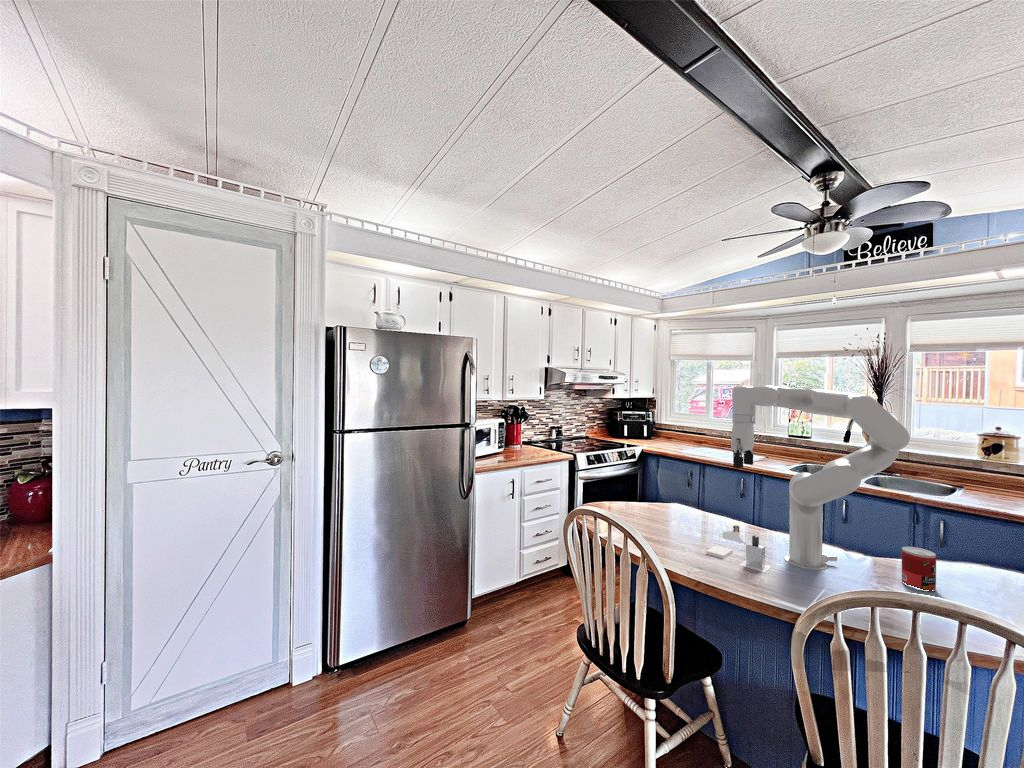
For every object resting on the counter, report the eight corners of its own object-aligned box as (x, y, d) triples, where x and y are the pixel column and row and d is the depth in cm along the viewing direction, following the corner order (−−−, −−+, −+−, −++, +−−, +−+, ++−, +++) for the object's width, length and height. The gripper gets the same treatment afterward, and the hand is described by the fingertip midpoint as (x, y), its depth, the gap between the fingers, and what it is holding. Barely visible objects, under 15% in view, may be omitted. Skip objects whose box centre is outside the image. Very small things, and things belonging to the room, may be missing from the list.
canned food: (927, 594, 132) (928, 557, 132) (895, 583, 139) (896, 548, 139) (941, 589, 135) (941, 553, 135) (909, 579, 142) (909, 544, 142)
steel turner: (748, 562, 153) (748, 533, 153) (764, 567, 149) (764, 537, 149) (746, 564, 151) (746, 535, 151) (762, 569, 147) (762, 539, 147)
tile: (715, 545, 166) (706, 550, 161) (732, 549, 162) (723, 555, 156) (715, 548, 166) (706, 554, 161) (732, 553, 161) (723, 559, 156)
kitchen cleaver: (719, 523, 197) (744, 525, 193) (719, 526, 197) (744, 528, 193) (716, 541, 175) (745, 544, 171) (716, 544, 175) (745, 547, 171)
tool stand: (746, 561, 155) (746, 559, 155) (771, 569, 150) (771, 566, 150) (738, 567, 151) (738, 565, 151) (764, 574, 145) (764, 572, 145)
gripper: (741, 417, 172) (741, 461, 172) (723, 419, 160) (723, 467, 160) (763, 418, 166) (762, 464, 166) (745, 421, 154) (745, 470, 154)
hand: (743, 465), depth 163 cm, fingers open, 9 cm apart
